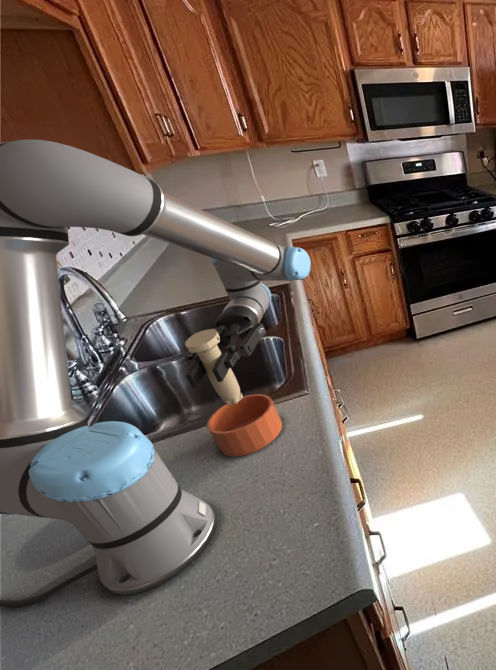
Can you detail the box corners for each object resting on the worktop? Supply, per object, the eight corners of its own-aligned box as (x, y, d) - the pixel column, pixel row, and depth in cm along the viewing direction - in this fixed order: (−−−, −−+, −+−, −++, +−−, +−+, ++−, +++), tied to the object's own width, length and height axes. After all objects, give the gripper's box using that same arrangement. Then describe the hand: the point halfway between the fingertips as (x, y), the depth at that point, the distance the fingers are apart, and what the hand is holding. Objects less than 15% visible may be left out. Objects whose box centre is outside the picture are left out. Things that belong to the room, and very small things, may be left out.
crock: (230, 466, 83) (216, 442, 80) (213, 438, 91) (200, 416, 88) (290, 431, 91) (280, 409, 88) (270, 408, 99) (260, 387, 95)
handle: (250, 388, 87) (220, 326, 79) (244, 407, 81) (211, 343, 74) (225, 394, 86) (192, 332, 78) (216, 414, 80) (180, 349, 73)
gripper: (284, 326, 98) (262, 384, 78) (206, 341, 94) (162, 406, 74) (273, 298, 94) (246, 350, 74) (191, 313, 91) (140, 372, 71)
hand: (204, 378), depth 74 cm, fingers closed on handle, 3 cm apart
